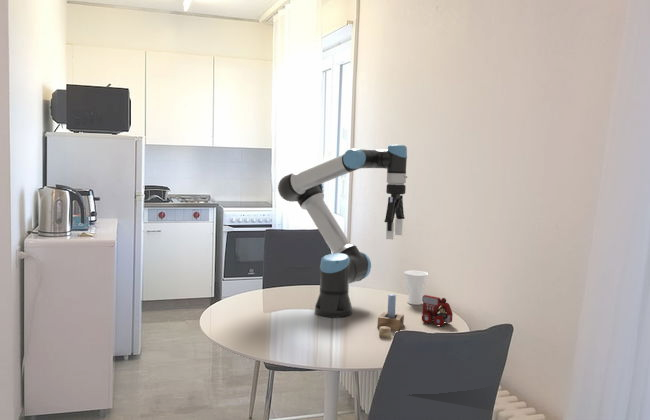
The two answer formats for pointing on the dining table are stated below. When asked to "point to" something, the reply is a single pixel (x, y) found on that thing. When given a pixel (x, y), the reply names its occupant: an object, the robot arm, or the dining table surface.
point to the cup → (415, 285)
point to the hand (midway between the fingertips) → (394, 237)
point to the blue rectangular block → (391, 305)
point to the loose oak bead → (384, 332)
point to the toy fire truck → (436, 310)
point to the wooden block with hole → (391, 321)
